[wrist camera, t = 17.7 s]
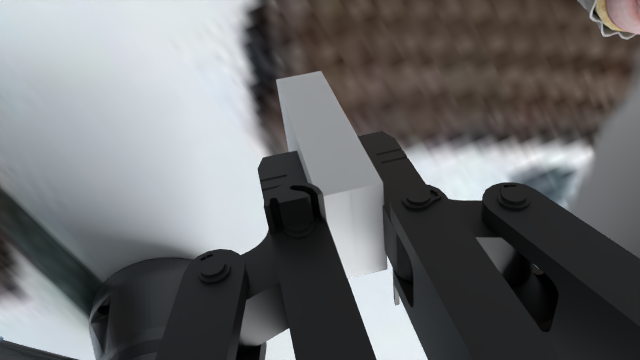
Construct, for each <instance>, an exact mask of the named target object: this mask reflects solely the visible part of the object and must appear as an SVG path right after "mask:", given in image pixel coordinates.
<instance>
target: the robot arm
mask: <svg viewBox="0 0 640 360" xmlns="http://www.w3.org/2000/svg"><path fill="white" fill-rule="evenodd" d="M276 82H277V87H278V93H279V99H280V104H281V110H282V116H283V121H284V127H285V132H286V138H287V144H288V149H289V152H287V153H283V154H278V155H273V156H269V157H264V158H262V161H261V163H260V165H259V167H258V174H259V179H260V184H261V189H262V194H263V198H264V210H265V214H266V218H267V223H268V227H269V230H268V233H267V236H266V237H265V238H264V240H263V241H262V242H261V243H260V244H259V245H258V246H257V247H255V248H253V249H252V250H250V251H248V252H246V253H244V254H242V255H239V254H238V253H236V252H234V251H232V250H225V249H218V250H213V251H208V252H206V253H204V254H202V255H200V256H198V257H197V258H195V259H194V260H188V259H181V258H159V259H152V260H147V261H143V262H139V263H136V264H133V265H130V266H128V267H126V268H124V269H122V270H120V271H118V272H117V273H115V274H114V275H112V276H111V277H110V278H109V279H107V280H106V281H105V282H104V283H103V285H102V286H101V287H100V288H99V290H98V291H97V293H96V295H95V297H94V300H93V304H92V309H91V314H90V319H89V331H90V336H91V340H92V345H93V349H94V353H95V358H96V360H265V354H266V346H267V345H266V341H267V340H269V339H271V338H273V337H274V336H276V335H278V334H279V333H281V332H283V331H285V330H286V329H288V328H289V329H290V334H291V338H292V343H293V348H294V353H295V358H296V360H376V357H375V354H374V351H373V349H372V346H371V343H370V340H369V337H368V335H367V332H366V329H365V326H364V324H363V321H362V318H361V315H360V312H359V310H358V307H357V304H356V301H355V298H354V296H353V293H352V290H351V287H350V284H349V282H348V279H349V278H353V277H357V276H361V275H365V274H369V273H374V272H378V271H382V270H386V269H387V256H388V258H389V260H390V263H391V265H392V267H393V288H394V302H395V305H399V296H400V298H401V301H402V303H403V305H404V307H405V309H406V312H407V314H408V316H409V318H410V321H411V323H412V325H413V327H414V329H415V332H416V334H417V336H418V338H419V341H420V343H421V345H422V347H423V349H424V352H425V354H426V356H427V358H428V360H640V259H639V258H638V257H636V256H635V255H633V254H632V253H630V252H629V251H627V250H625V249H624V248H623V247H621V246H619V245H618V244H617V243H615V242H614V241H612V240H611V239H609V238H608V237H606V236H605V235H603V234H602V233H600V232H598V231H597V230H596V229H594V228H593V227H591V226H590V225H588V224H587V223H585V222H584V221H582V220H581V219H579V218H578V217H576V216H575V215H573V214H572V213H570V212H569V211H567V210H566V209H564V208H563V207H561V206H560V205H558V204H557V203H555V202H553V201H552V200H550V199H549V198H547V197H546V196H544V195H543V194H541V193H540V192H538V191H537V190H535V189H533V188H531V187H529V186H527V185H524V184H519V183H499V184H496V185H492V186H491V187H489V188H488V189H486V190H485V192H484V194H483V197H482V201H461V200H451V199H448V198H447V196H446V195H445V194H444V193H443V192H442V191H441V190H440V189H438V188H436V187H433V186H431V185H426V184H425V182H424V181H423V179H422V178H421V176H420V175H419V173H418V172H417V171H416V169H415V168H414V166H413V165H412V163H411V162H410V160H409V159H408V158H407V156H406V154H405V153H404V151H403V150H402V148H401V147H400V145H399V144H398V142H397V141H396V139H395V138H393V137H391V136H390V135H388V134H386V133H384V132H383V131H381V132H376V133H371V134H367V135H362V136H357V135H356V133H355V131H354V130H353V128H352V126H351V124H350V122H349V121H348V119H347V117H346V115H345V113H344V112H343V110H342V108H341V106H340V104H339V103H338V101H337V99H336V97H335V95H334V94H333V92H332V90H331V88H330V86H329V85H328V83H327V81H326V79H325V77H324V76H323V74H322V72H321V71H319V72H313V73H308V74H303V75H298V76H293V77H288V78H283V79H278V80H276ZM536 266H537V267H538V268H537V267H536ZM0 360H78V359H74V358H70V357H66V356H62V355H58V354H54V353H51V352H47V351H43V350H39V349H35V348H31V347H27V346H23V345H19V344H16V343H12V342H9V341H5V340H3V338H2V337H0Z"/></svg>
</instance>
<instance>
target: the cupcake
mask: <svg viewBox="0 0 640 360" xmlns="http://www.w3.org/2000/svg"><path fill="white" fill-rule="evenodd" d="M577 1H578V2H579V3H580V4H581V5H582V6H583V7H584V8H585V9H586V10H587V11H588V14H589V17H590V18H591V19H592V20H593V21H595V22H597V24H598V26H599V28H600V31H601V33H602V35H603V36H607V37H608V36H611V35H614V34H617V33H618V34H619V35H620V36H621V37H622V38H623V39H629V38H631V37H633V36H635V35H636V34H640V0H577Z"/></svg>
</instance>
